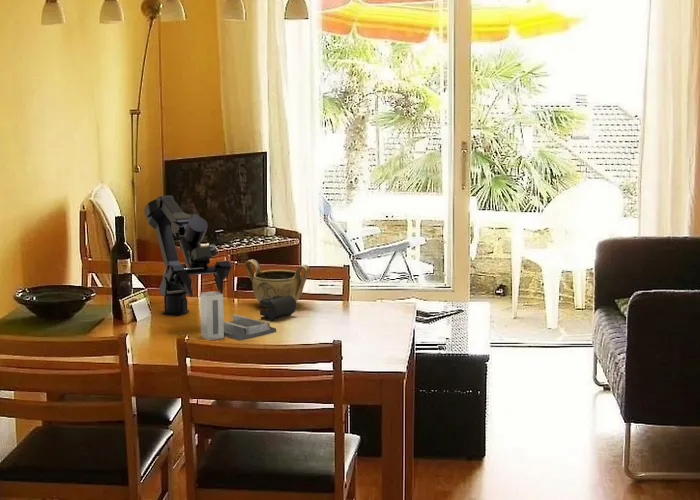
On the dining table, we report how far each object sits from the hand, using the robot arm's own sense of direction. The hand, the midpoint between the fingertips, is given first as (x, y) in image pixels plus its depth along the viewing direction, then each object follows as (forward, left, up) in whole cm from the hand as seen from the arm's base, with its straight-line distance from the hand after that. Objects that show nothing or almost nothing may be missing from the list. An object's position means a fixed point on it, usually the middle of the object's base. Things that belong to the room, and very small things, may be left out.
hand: (206, 294), depth 299 cm
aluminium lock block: (+4, -4, -11) cm, 13 cm away
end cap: (+11, +25, -12) cm, 30 cm away
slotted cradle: (+8, +6, -11) cm, 15 cm away
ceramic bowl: (+4, +39, -12) cm, 41 cm away
